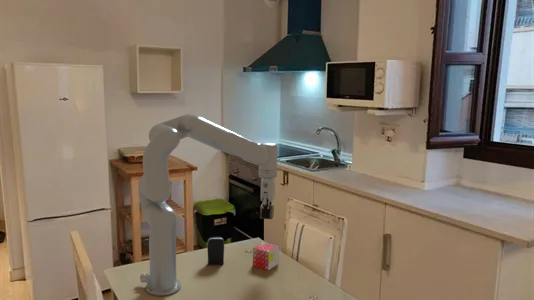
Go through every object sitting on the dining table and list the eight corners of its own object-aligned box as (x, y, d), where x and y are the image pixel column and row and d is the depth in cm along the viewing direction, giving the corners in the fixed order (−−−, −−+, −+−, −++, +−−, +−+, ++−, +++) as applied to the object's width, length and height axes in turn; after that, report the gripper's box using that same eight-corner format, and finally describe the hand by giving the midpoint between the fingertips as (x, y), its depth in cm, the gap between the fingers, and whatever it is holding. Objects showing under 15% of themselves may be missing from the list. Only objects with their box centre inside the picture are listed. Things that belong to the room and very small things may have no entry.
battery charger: (223, 260, 182) (223, 235, 180) (224, 264, 178) (224, 238, 177) (207, 261, 181) (207, 236, 179) (207, 265, 177) (207, 239, 175)
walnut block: (260, 218, 174) (260, 206, 173) (261, 214, 179) (262, 203, 178) (272, 219, 174) (272, 207, 173) (273, 215, 178) (273, 204, 178)
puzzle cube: (268, 270, 174) (268, 252, 173) (252, 265, 178) (252, 247, 177) (278, 263, 181) (279, 246, 180) (263, 259, 185) (263, 241, 184)
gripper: (274, 178, 165) (273, 223, 167) (279, 169, 181) (278, 210, 184) (255, 177, 166) (254, 221, 168) (262, 168, 182) (261, 209, 185)
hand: (266, 215), depth 176 cm, fingers closed on walnut block, 5 cm apart
